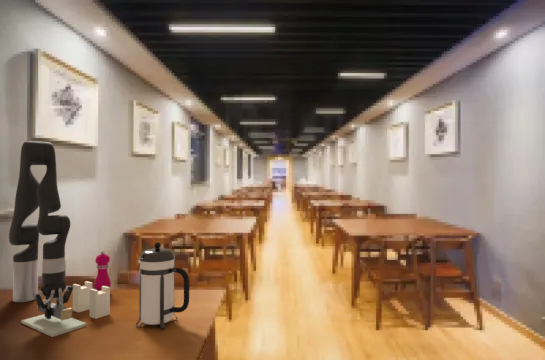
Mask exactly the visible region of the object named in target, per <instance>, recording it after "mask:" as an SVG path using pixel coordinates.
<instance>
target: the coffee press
mask: <svg viewBox="0 0 545 360" xmlns="http://www.w3.org/2000/svg"><path fill="white" fill-rule="evenodd" d="M161 246H162V245H161V243H160V241H159V242H155V243H154V244H153V247H154V248H149V249H145V250H144V251H142V252H141V254H140V256H139V257H138V261H137V263H138V264H139V291H138V292H139V303H138V306H139V309H138V310H139V311H138V312H139V313H138V320H137V322H136V323H135V326H136V328H138V329H140V328H141V327H142V325H150V326H151V325H152V326H156V325H158V327H159V330H160V329H161V330H160V331H163V330H162V329H164V330H166V326H165V324H166V323H168V322H170V321H171V320H173V318H174V317H175V318H176V319H177V320H178V317H177V316H176V314H175V313H182V312H184V311H186V309H187V308H188V307H189V303H190V277H189V274H188V272H187V271H186V270H185V269H183V268H180V267H176V266H175V259H176V255H175V253H174V251H173V250H171V249H169V248H165V247H164V248H163V247H161ZM175 273H176V274H180V275H181V277H182V279H183V303H182V305H181V307H179V306H178V307H175ZM173 321H174V320H173ZM140 322H141V323H140ZM139 323H140V324H139Z"/></svg>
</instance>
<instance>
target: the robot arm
mask: <svg viewBox="0 0 545 360" xmlns="http://www.w3.org/2000/svg"><path fill="white" fill-rule="evenodd" d="M56 157H57V156H56V151H55V146H54V145H53V143H51V142H48V141H33V140H32V141H31V140H30V141H29V140H28V141H24V142H23V143H22V145H21V149H20V158H19V160H20V161H19V173H18V174H19V175H18V181H17V187H16V192H15V198H14V209H13V215H12V220H11V224H10V228H9V231H8V241H9V243H10V245H12V246H26V245H28V246H27V247H26V248H24V250H23V249H22V250H21V251H19V252H16V253H15V254H14V255H12V256H13V257H12V302H14V303H25V302H32V301H34V300H35V303H36V306H37V305H38V306H39V308H42V309H45V313H44V314H45V317H46V318H47V319H51V309H50V308H51V303H53V301H54V300H55V301H56V302H55V304H58V305H61V306H63V307H64V305H65V304H67V303H68V302H69V300H70V298H71V295H72V294H73V285H72V286H71V285H67V284H66V267H67V266H66V264H67V263H66V258H65V257H66V242H67V239H68V235H69V232H70V230H71V229H70V228H71V219H70V218H69V216H67V215H66V214H55V215H54V214H53V213H55V212H58V211H59V210H60V209H61V207H62V205H61V198H60V195H59V191H58V190H59V189H58V182H57V181H58V180H57V179H58V177H57V160H56ZM31 166H46V171H45V173H44V176H43V178H42V179H41V181H40V182H39V181H38V180H37V178H36V177H35V176H34V173H33V171H32V170H31V168H32V167H31ZM38 208H39V209H38ZM37 210H38V218H37V219H38V220H37V223H36V222H33V223H32V222H31V223H24V222H25V221H26V220H27V218H28V217H30V216H31V215H32V214H34V212H35V211H37ZM49 214H51V215H49ZM52 214H53V215H52ZM40 235H42V236H53V235H56V237H55V238H53V239H52V240H48V241H46V242H44V243H43V245H42V262H41V288H40V290H39V288H38V287H39V239H40ZM43 296H44V299H43ZM53 299H54V300H53ZM43 300H44V301H45V303H44V302H43Z"/></svg>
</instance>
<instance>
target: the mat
mask: <svg viewBox="0 0 545 360" xmlns="http://www.w3.org/2000/svg"><path fill="white" fill-rule="evenodd" d="M21 324H23V325H25V326H27V327H29V328H31V329H34V330H35V331H38V332H40V333H43V334H45V335H47V336H49V337H52V338H53V337H56V336H57V337H58V336H60V335H62V334H66V333H69V332H72V331H75V330H78V329H82V328H85V327H86V326H87V322H85V321H81V320H78V319H76V318H74V317H72V318H70V319H66V320H63V321H62V320H61V319H58V318H56V317H53V316H51V319H47V318H46V317H45V313H43V314H40V315H37V316H33V317H29V318H26V319H21Z"/></svg>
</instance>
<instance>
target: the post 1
mask: <svg viewBox="0 0 545 360" xmlns="http://www.w3.org/2000/svg"><path fill="white" fill-rule="evenodd" d="M72 287H73V290H72V312H74V313H75V312H76V313H81V312H85V311H90V289H93V282H91V281H88V280H87V281H84V285H82V286H81V284H77V283H72Z"/></svg>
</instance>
